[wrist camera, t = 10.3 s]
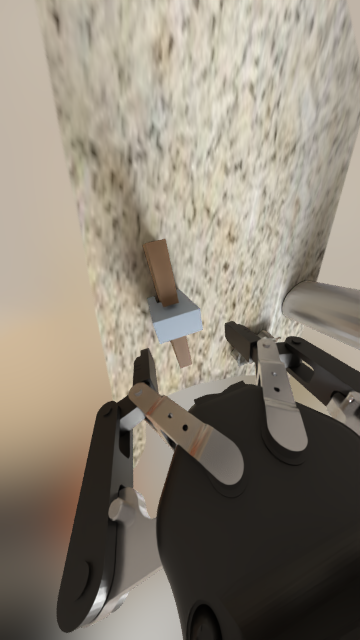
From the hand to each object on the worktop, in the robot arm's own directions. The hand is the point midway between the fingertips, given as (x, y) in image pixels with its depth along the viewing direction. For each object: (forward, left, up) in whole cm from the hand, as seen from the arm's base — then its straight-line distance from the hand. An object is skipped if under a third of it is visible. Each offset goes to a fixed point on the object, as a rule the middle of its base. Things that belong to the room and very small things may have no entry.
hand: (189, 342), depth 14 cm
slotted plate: (0, 0, -12) cm, 12 cm away
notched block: (0, 0, -12) cm, 12 cm away
